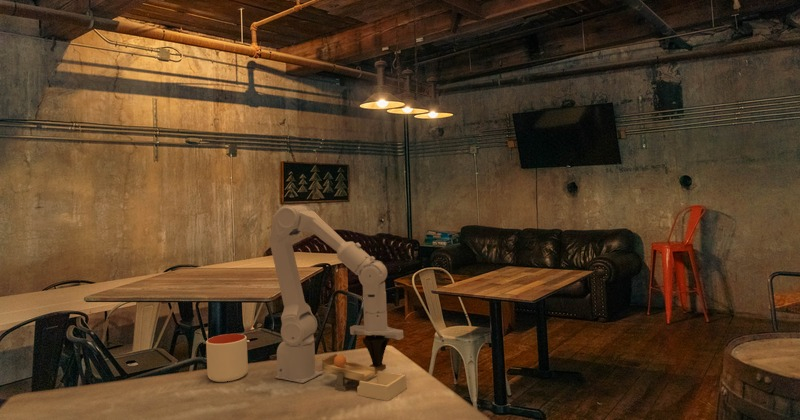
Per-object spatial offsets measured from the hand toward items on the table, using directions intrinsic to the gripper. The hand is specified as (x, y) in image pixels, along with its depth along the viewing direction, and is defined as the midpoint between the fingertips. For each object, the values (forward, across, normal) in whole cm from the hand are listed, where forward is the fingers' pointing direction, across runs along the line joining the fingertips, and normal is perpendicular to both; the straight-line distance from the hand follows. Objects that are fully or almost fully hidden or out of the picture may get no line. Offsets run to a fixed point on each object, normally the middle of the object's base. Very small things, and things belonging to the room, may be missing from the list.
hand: (377, 365), depth 126 cm
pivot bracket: (+4, -4, -6) cm, 8 cm away
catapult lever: (+1, -5, -4) cm, 6 cm away
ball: (-2, -7, -6) cm, 9 cm away
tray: (+4, +5, -6) cm, 9 cm away
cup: (+4, -38, -14) cm, 40 cm away
